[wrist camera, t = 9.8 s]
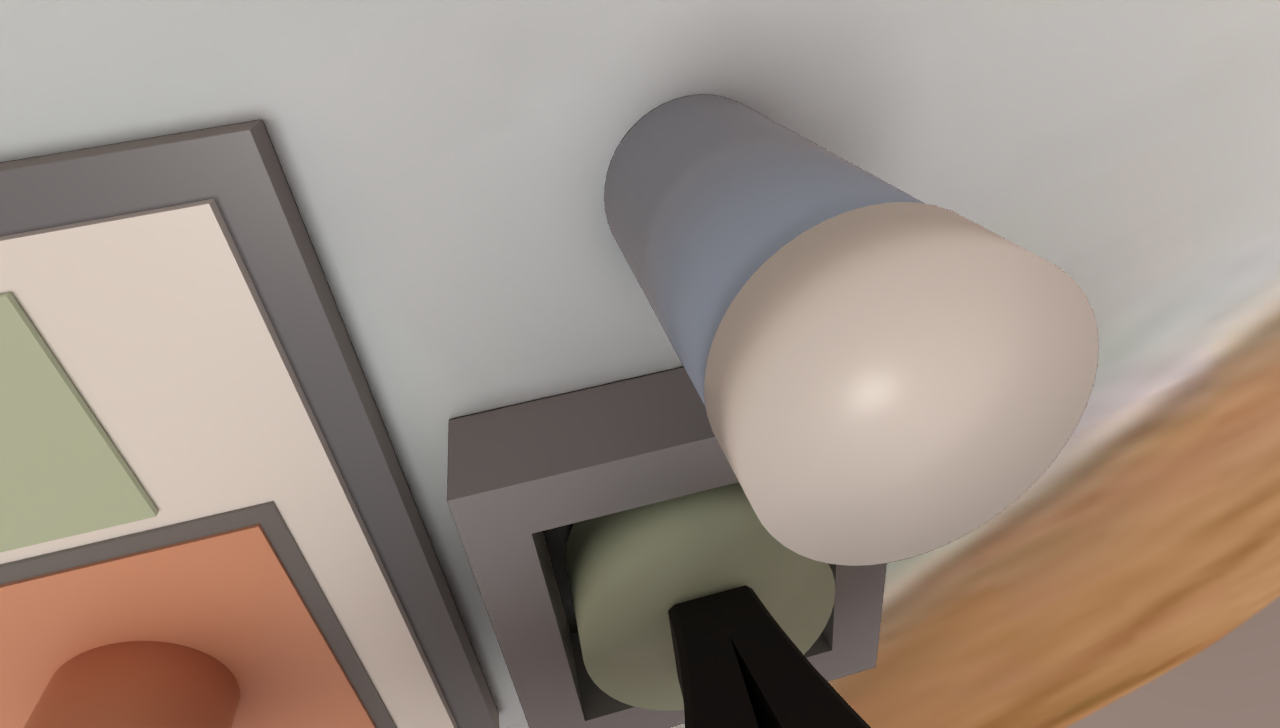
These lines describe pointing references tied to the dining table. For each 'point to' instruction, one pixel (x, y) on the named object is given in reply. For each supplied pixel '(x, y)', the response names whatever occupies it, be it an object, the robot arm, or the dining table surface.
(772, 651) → the robot arm
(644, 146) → the slate blue marker
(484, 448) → the button collar
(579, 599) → the button
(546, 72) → the dining table surface
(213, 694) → the terracotta marker
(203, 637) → the colour zone board
